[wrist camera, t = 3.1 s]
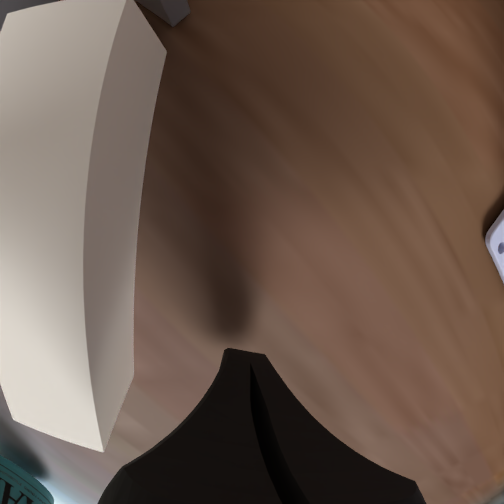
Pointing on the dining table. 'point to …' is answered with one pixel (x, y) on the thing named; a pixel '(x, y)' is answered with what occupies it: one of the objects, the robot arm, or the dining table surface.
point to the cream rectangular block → (72, 209)
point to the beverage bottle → (20, 486)
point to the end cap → (160, 3)
